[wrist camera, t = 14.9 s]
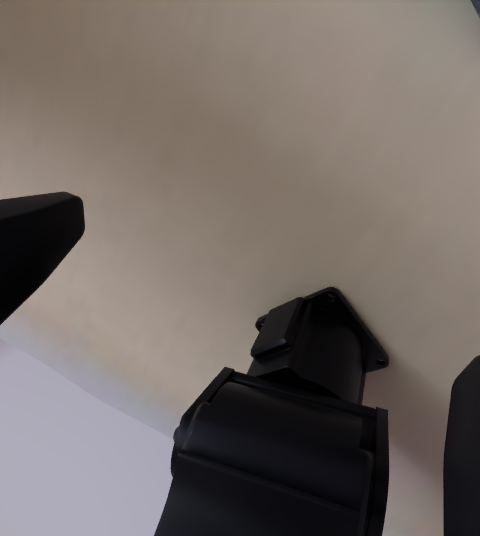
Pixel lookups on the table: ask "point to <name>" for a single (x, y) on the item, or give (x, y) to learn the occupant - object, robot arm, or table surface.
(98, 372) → the table surface
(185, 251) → the table surface
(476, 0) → the tray
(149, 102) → the table surface
